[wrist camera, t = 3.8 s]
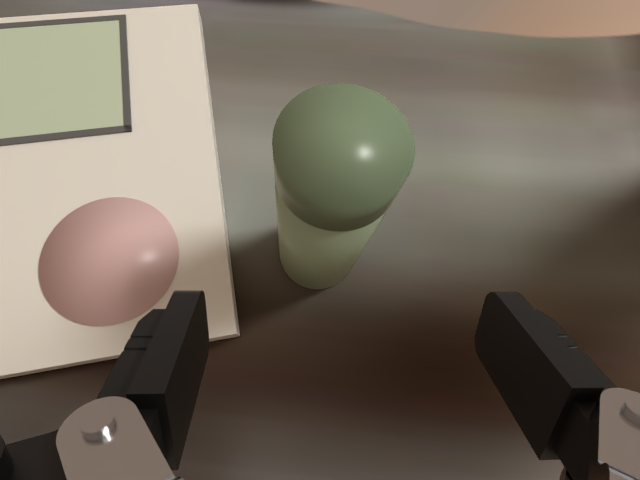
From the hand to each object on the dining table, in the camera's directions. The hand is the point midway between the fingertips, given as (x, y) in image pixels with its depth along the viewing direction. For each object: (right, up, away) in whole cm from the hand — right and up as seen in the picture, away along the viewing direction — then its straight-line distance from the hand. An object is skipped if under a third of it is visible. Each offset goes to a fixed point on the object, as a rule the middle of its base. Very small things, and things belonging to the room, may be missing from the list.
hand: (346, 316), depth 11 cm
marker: (-1, +1, +12) cm, 12 cm away
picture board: (-14, +6, +13) cm, 20 cm away
